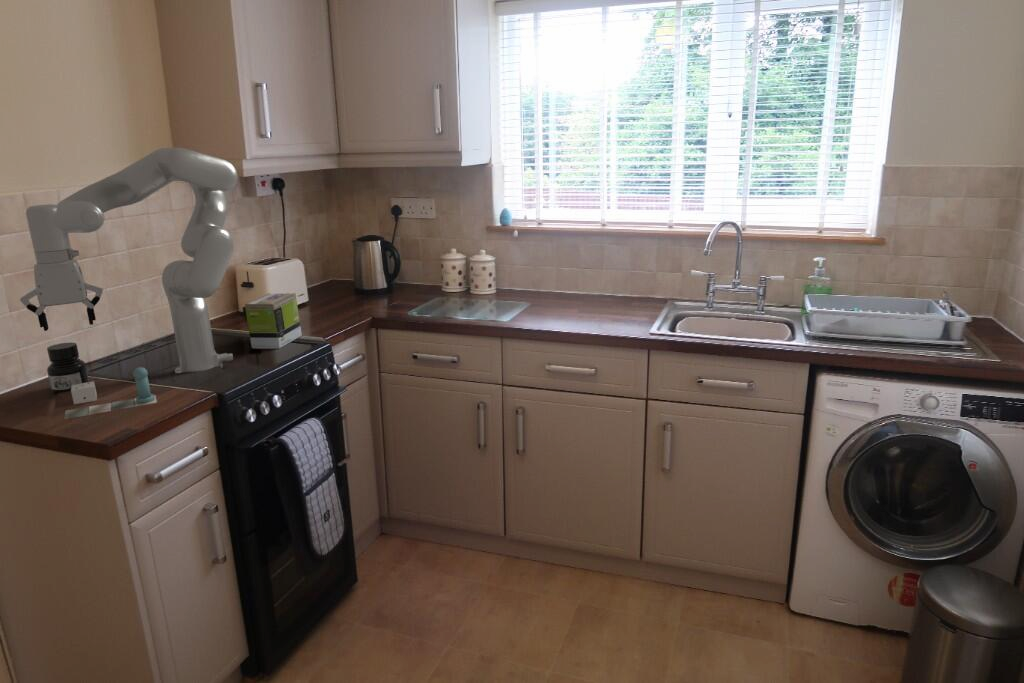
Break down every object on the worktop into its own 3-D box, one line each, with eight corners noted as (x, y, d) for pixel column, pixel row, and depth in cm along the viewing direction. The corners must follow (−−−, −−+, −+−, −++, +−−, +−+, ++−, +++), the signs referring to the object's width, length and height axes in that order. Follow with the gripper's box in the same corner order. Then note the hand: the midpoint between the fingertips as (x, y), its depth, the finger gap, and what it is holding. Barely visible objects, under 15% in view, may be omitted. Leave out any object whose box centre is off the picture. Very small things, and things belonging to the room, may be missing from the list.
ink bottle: (43, 394, 192) (33, 351, 189) (62, 383, 201) (53, 342, 197) (79, 393, 192) (70, 350, 189) (97, 382, 201) (89, 340, 197)
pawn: (154, 396, 183) (147, 364, 181) (154, 401, 180) (148, 368, 177) (136, 399, 181) (130, 366, 179) (136, 404, 178) (130, 371, 176)
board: (156, 399, 185) (155, 394, 185) (158, 407, 179) (157, 402, 179) (66, 415, 176) (65, 410, 176) (64, 424, 170) (63, 419, 170)
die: (97, 399, 187) (93, 380, 186) (98, 405, 183) (93, 386, 181) (75, 403, 185) (70, 384, 183) (74, 409, 180) (70, 390, 179)
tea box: (274, 335, 242) (269, 292, 237) (302, 336, 239) (297, 292, 235) (250, 348, 227) (243, 302, 223) (279, 349, 225) (273, 303, 221)
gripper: (95, 251, 180) (109, 318, 185) (13, 259, 173) (29, 328, 177) (95, 255, 174) (109, 324, 179) (9, 263, 166) (26, 335, 171)
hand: (69, 326), depth 178 cm, fingers open, 9 cm apart
